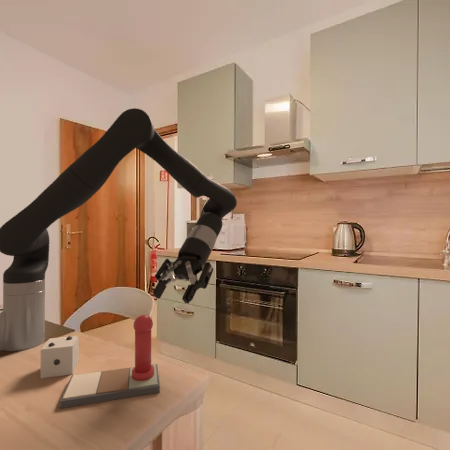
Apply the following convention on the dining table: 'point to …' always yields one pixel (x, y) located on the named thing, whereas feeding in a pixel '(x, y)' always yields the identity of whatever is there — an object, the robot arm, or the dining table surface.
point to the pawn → (143, 349)
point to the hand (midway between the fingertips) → (170, 299)
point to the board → (107, 387)
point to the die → (59, 356)
